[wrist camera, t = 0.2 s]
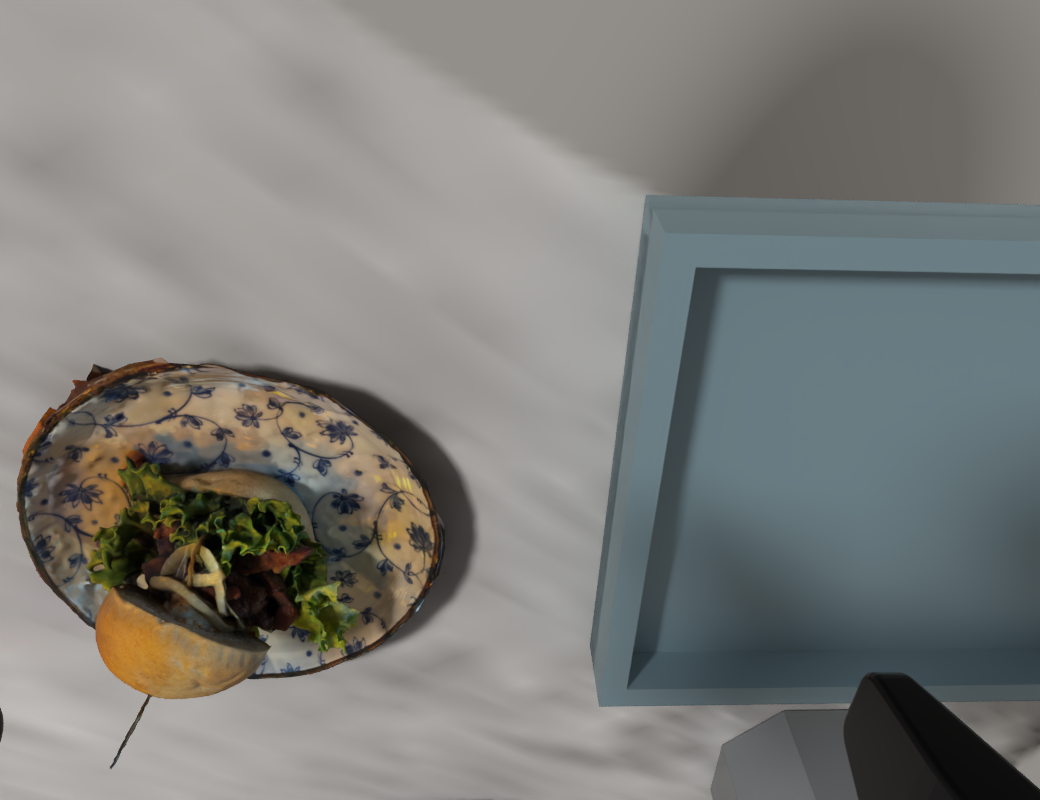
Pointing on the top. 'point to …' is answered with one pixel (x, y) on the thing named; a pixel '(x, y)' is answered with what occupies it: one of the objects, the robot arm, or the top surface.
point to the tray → (825, 455)
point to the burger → (223, 526)
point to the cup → (787, 760)
